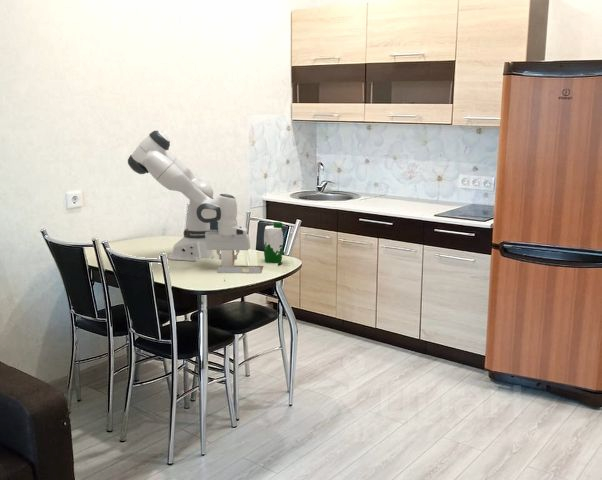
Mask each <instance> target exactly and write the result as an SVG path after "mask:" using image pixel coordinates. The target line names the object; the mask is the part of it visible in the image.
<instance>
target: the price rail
mask: <svg viewBox="0 0 602 480" xmlns="http://www.w3.org/2000/svg"><path fill="white" fill-rule="evenodd" d="M217 271H218V273H217V274H261V273H260V267H220V266H217Z"/></svg>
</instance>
